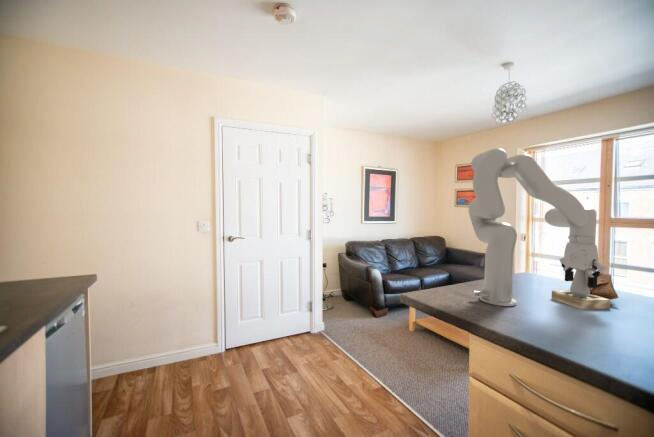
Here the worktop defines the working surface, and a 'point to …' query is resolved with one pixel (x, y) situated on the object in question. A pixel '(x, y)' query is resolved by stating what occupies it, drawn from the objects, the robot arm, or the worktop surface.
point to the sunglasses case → (604, 287)
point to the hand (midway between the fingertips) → (580, 284)
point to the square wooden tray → (581, 300)
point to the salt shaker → (580, 284)
